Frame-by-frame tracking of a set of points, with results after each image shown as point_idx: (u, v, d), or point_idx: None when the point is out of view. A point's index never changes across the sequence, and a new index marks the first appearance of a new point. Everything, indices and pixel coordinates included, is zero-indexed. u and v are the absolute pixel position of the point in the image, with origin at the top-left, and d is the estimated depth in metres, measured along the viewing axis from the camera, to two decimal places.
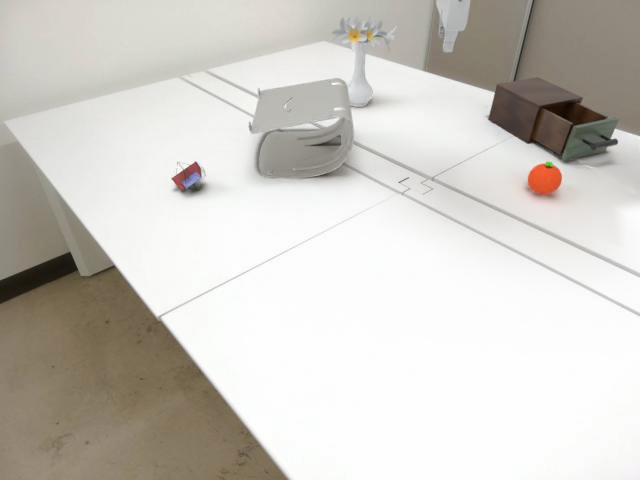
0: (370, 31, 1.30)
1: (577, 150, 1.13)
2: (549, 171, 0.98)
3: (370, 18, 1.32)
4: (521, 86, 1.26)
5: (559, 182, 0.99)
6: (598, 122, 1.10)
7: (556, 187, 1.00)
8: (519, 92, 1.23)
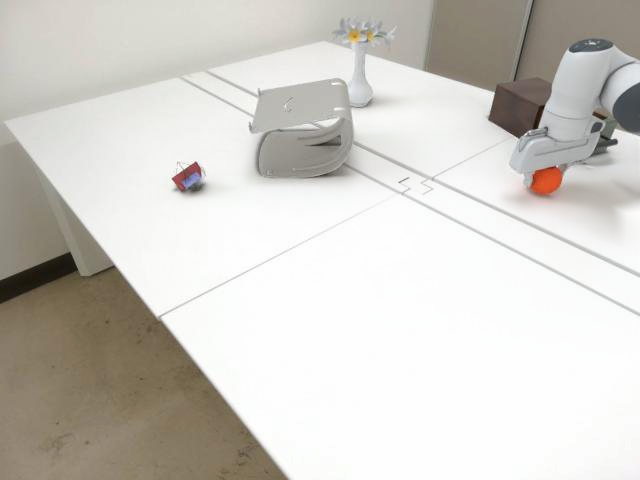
0: (370, 31, 1.30)
1: None
2: (549, 171, 0.99)
3: (370, 18, 1.32)
4: (521, 86, 1.26)
5: (559, 182, 0.99)
6: None
7: (556, 187, 1.00)
8: (519, 92, 1.23)
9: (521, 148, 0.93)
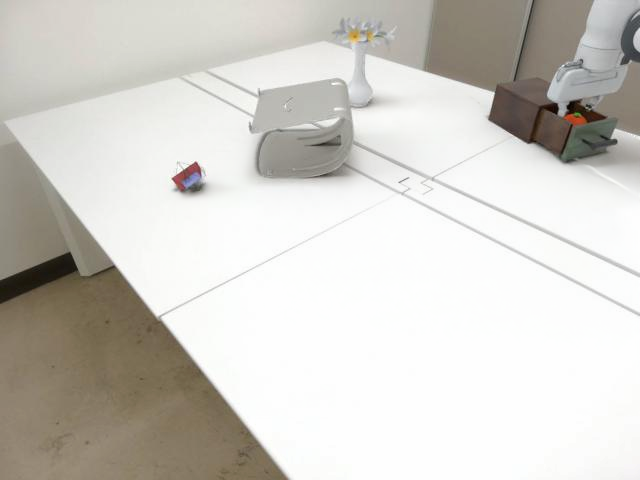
0: (370, 31, 1.30)
1: (577, 150, 1.13)
2: (577, 120, 1.14)
3: (370, 18, 1.32)
4: (521, 86, 1.26)
5: None
6: (598, 122, 1.10)
7: None
8: (519, 92, 1.23)
9: (559, 78, 1.05)
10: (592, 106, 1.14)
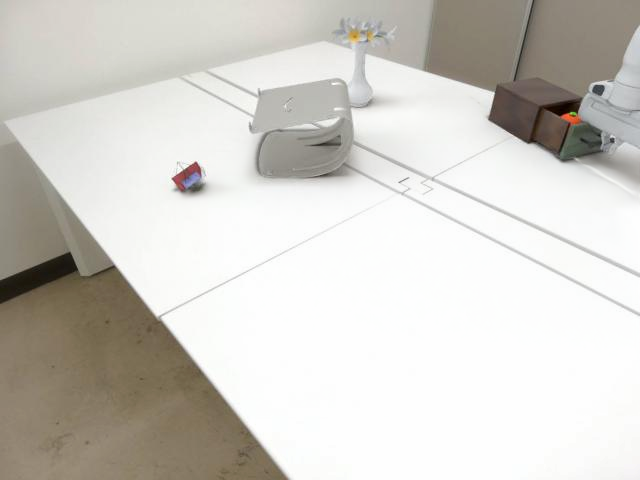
0: (370, 31, 1.30)
1: (575, 149, 1.13)
2: (573, 119, 1.15)
3: (370, 18, 1.32)
4: (521, 86, 1.26)
5: None
6: None
7: None
8: (519, 92, 1.23)
9: None
10: None
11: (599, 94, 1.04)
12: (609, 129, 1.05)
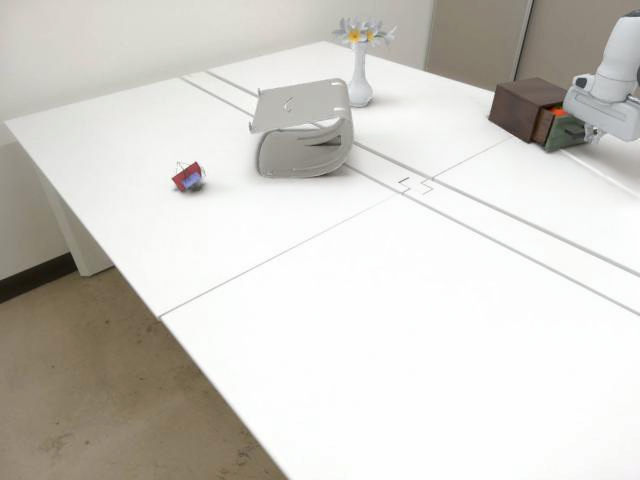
0: (370, 31, 1.30)
1: (560, 140, 1.17)
2: (558, 111, 1.18)
3: (370, 18, 1.32)
4: (521, 86, 1.26)
5: None
6: None
7: None
8: (519, 92, 1.23)
9: None
10: None
11: (582, 87, 1.07)
12: (592, 121, 1.09)
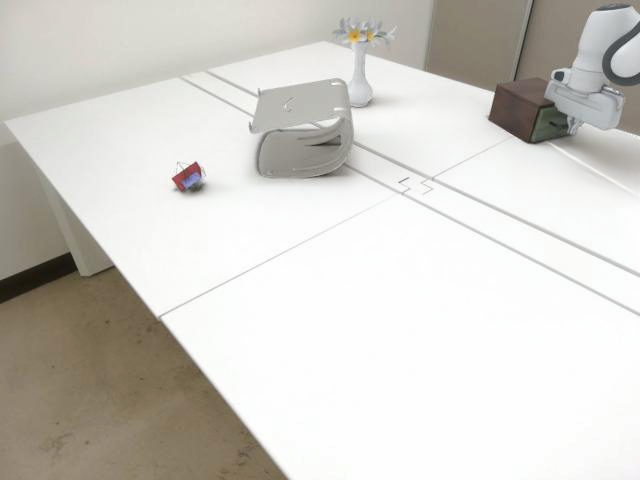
0: (370, 31, 1.30)
1: (545, 132, 1.21)
2: None
3: (370, 18, 1.32)
4: (521, 86, 1.26)
5: None
6: None
7: None
8: (519, 92, 1.23)
9: None
10: None
11: (560, 80, 1.12)
12: (571, 112, 1.13)
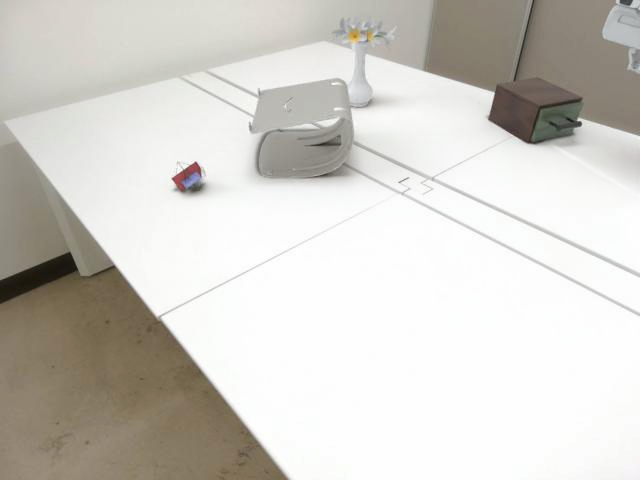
0: (370, 31, 1.30)
1: (545, 132, 1.21)
2: None
3: (370, 18, 1.32)
4: (521, 86, 1.26)
5: None
6: (564, 106, 1.18)
7: None
8: (519, 92, 1.23)
9: None
10: None
11: (628, 4, 0.93)
12: (638, 44, 0.95)
